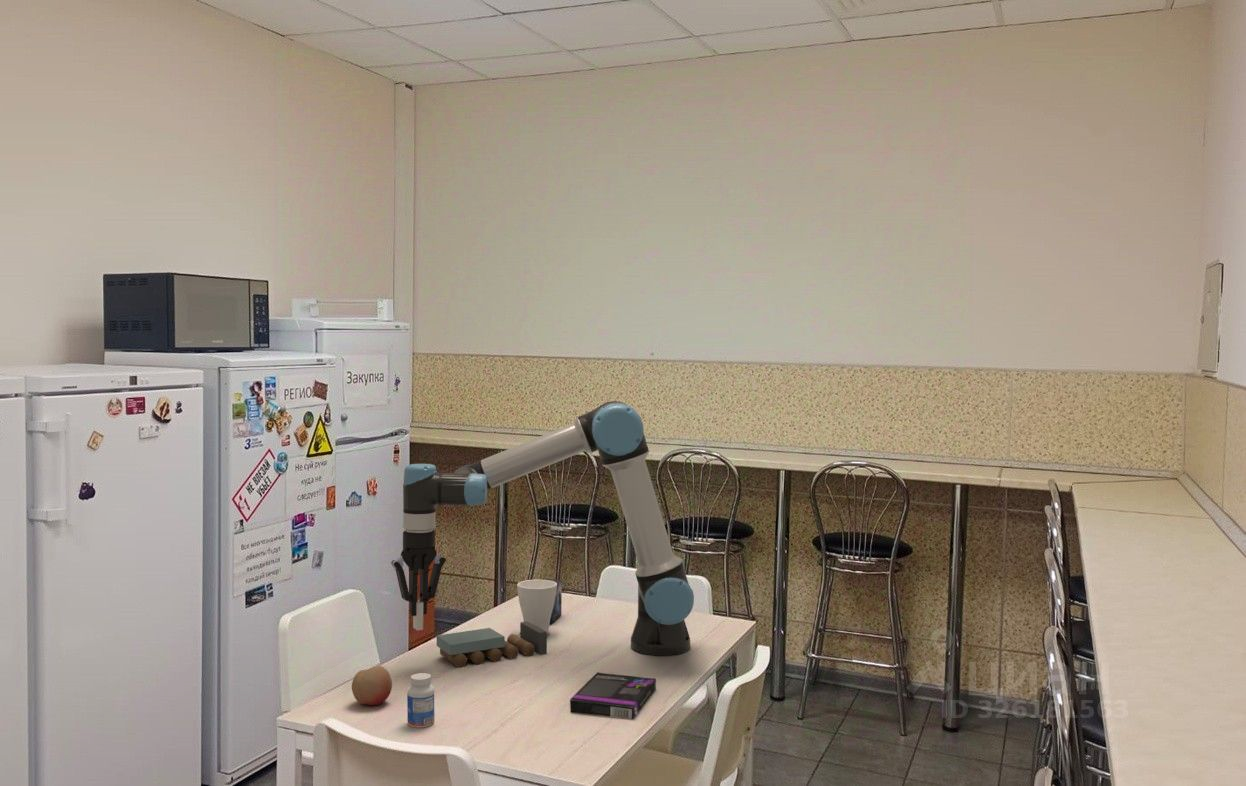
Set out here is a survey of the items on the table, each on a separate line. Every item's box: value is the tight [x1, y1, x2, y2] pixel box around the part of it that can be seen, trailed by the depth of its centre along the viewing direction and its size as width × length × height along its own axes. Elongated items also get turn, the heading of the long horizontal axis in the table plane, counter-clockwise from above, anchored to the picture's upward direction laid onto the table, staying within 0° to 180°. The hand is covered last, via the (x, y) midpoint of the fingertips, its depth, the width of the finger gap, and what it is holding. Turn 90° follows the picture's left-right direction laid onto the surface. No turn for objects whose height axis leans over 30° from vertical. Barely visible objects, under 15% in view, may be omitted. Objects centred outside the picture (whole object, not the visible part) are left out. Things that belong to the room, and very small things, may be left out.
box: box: [569, 671, 657, 720], centre depth 223 cm, size 14×4×20 cm
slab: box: [436, 627, 506, 655], centre depth 252 cm, size 9×14×2 cm, turn 121°
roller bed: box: [439, 633, 536, 668], centre depth 254 cm, size 10×21×3 cm, turn 121°
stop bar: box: [519, 621, 548, 656], centre depth 261 cm, size 11×2×6 cm, turn 31°
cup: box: [516, 579, 557, 636], centre depth 273 cm, size 10×10×14 cm
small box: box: [540, 577, 563, 626], centre depth 288 cm, size 11×6×10 cm, turn 168°
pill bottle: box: [406, 672, 436, 729], centre depth 209 cm, size 6×5×10 cm
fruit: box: [351, 665, 393, 707], centre depth 220 cm, size 8×8×8 cm
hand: (418, 628), depth 245 cm, fingers closed
